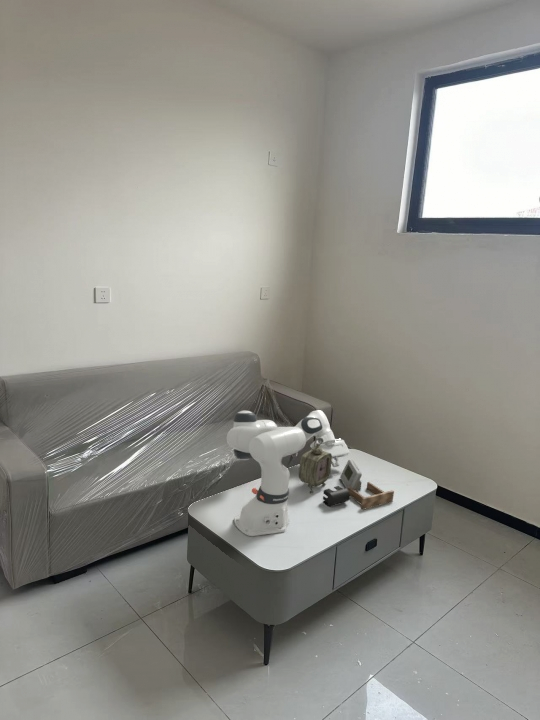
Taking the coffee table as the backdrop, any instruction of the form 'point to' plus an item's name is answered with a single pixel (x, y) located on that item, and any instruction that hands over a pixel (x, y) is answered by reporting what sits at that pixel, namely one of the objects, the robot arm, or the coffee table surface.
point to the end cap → (336, 496)
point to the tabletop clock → (315, 466)
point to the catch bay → (372, 500)
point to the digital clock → (351, 476)
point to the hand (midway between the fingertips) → (336, 466)
